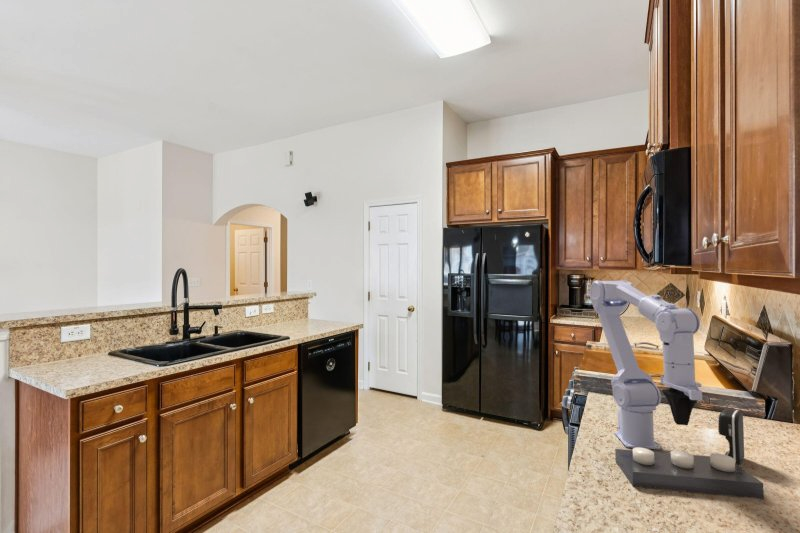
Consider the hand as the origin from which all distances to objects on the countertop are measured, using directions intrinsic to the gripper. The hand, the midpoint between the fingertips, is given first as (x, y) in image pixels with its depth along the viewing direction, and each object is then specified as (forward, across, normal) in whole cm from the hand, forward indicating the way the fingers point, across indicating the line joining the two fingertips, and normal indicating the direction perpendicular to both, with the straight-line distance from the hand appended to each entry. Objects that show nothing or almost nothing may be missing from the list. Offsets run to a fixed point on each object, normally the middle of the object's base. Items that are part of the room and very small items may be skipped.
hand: (681, 423), depth 87 cm
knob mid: (+10, -3, +2) cm, 11 cm away
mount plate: (+10, -4, +2) cm, 11 cm away
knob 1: (+10, -3, +9) cm, 14 cm away
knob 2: (+10, -3, -6) cm, 12 cm away
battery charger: (+11, +8, -14) cm, 19 cm away
